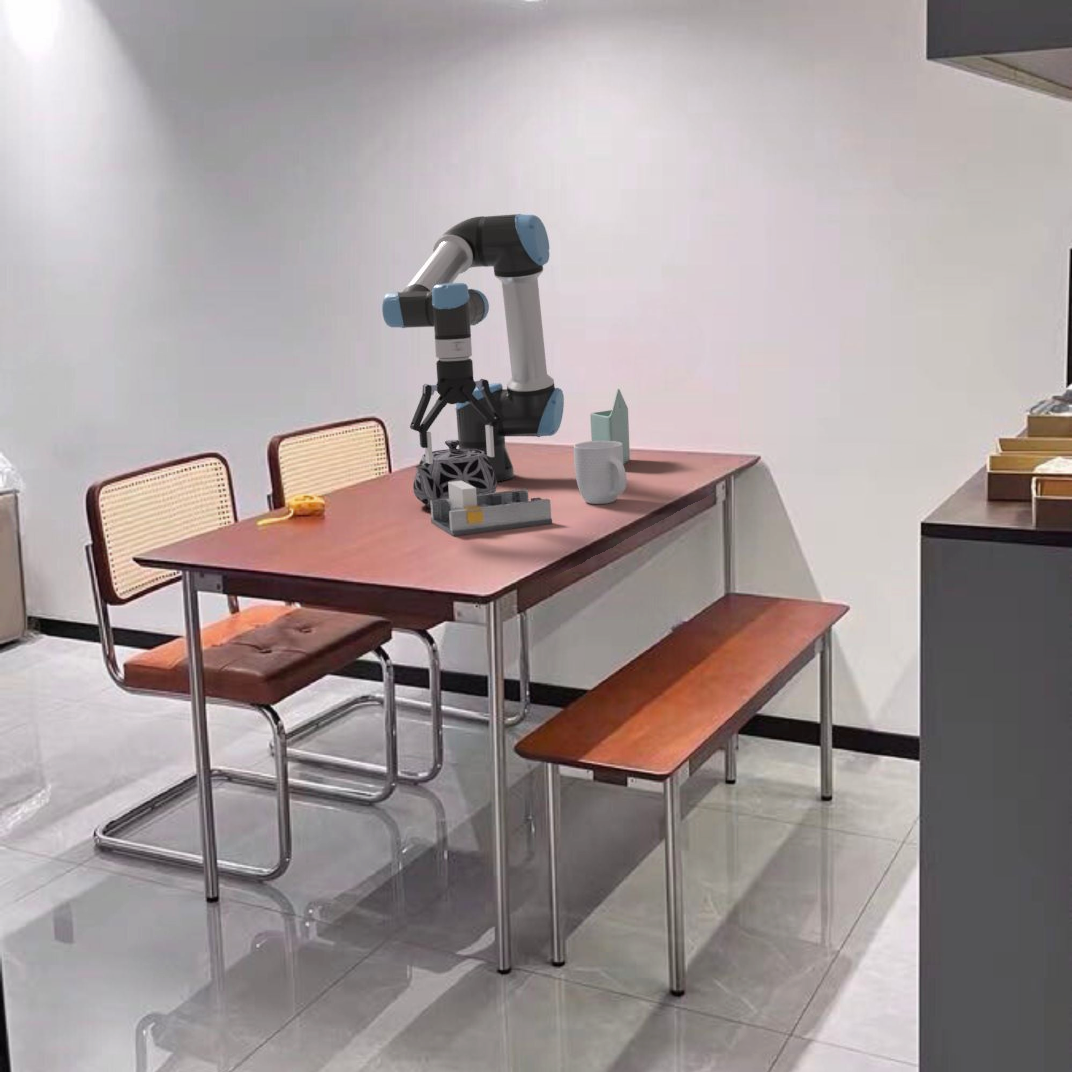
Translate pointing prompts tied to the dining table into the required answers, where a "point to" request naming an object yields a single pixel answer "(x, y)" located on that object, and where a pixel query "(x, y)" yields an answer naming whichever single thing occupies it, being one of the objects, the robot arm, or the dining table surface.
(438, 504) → the rack
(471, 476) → the teapot
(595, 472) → the mug
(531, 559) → the dining table surface
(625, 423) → the planter
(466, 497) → the panel
